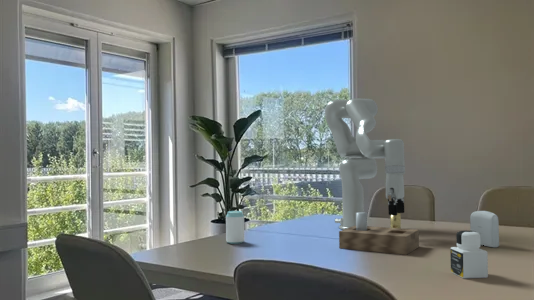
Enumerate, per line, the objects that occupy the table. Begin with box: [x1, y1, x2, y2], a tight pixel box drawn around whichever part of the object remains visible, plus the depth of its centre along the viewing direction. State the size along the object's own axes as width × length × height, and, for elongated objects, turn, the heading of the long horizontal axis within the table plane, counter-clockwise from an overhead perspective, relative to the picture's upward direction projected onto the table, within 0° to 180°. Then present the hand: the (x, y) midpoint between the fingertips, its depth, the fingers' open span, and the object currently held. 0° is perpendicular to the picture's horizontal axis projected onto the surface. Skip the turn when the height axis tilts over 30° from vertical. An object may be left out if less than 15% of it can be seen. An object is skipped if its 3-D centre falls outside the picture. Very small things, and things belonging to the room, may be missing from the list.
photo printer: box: [469, 210, 500, 248], centre depth 171 cm, size 10×4×12 cm, turn 26°
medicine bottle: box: [450, 230, 489, 280], centre depth 130 cm, size 7×7×12 cm
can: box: [225, 210, 245, 245], centre depth 184 cm, size 7×7×12 cm
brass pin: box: [389, 213, 402, 229], centre depth 187 cm, size 4×4×10 cm
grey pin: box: [356, 211, 368, 231], centre depth 174 cm, size 4×4×10 cm
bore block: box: [338, 225, 420, 256], centre depth 170 cm, size 24×16×6 cm, turn 58°
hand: (396, 213), depth 187 cm, fingers open, 9 cm apart
